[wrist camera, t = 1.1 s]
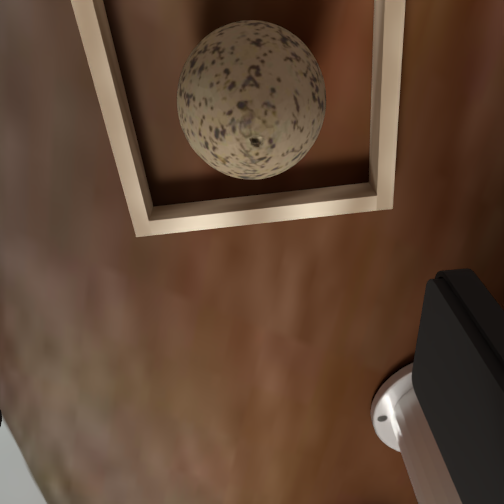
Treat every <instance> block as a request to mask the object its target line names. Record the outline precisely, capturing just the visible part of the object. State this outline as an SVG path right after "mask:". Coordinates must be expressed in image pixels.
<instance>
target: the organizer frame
mask: <svg viewBox="0 0 504 504" xmlns="http://www.w3.org/2000/svg"><path fill="white" fill-rule="evenodd" d="M71 2H72V6H73V9H74V13H75V17H76V20H77V24H78V27H79V31H80V35H81V38H82V42H83V45H84V49H85V53H86V56H87V60H88V64H89V67H90V71H91V74H92V78H93V82H94V85H95V89H96V92H97V96H98V100H99V103H100V107H101V111H102V114H103V118H104V121H105V125H106V129H107V132H108V136H109V139H110V143H111V147H112V150H113V154H114V158H115V161H116V165H117V168H118V172H119V176H120V179H121V183H122V186H123V190H124V194H125V197H126V201H127V205H128V208H129V212H130V215H131V219H132V223H133V226H134V230H135V233H136V237H141V236H150V235H159V234H168V233H177V232H186V231H195V230H204V229H213V228H222V227H231V226H240V225H249V224H258V223H267V222H276V221H285V220H294V219H304V218H313V217H322V216H331V215H340V214H349V213H358V212H367V211H376V210H385V209H393V194H394V178H395V162H396V146H397V130H398V113H399V97H400V81H401V65H402V49H403V33H404V16H405V0H374V27H373V60H372V93H371V126H370V159H369V182H368V183H360V184H351V185H342V186H333V187H324V188H315V189H306V190H297V191H288V192H279V193H270V194H261V195H252V196H243V197H235V198H226V199H217V200H208V201H199V202H190V203H181V204H172V205H163V206H154V207H153V203H152V199H151V195H150V191H149V187H148V182H147V178H146V174H145V170H144V166H143V162H142V158H141V154H140V150H139V146H138V142H137V137H136V133H135V129H134V125H133V121H132V117H131V113H130V109H129V105H128V101H127V97H126V92H125V88H124V84H123V80H122V76H121V72H120V68H119V64H118V60H117V56H116V52H115V47H114V43H113V39H112V35H111V31H110V27H109V23H108V19H107V15H106V11H105V6H104V2H103V0H71Z"/></svg>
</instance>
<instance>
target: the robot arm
mask: <svg viewBox="0 0 504 504" xmlns="http://www.w3.org/2000/svg"><path fill="white" fill-rule="evenodd" d="M371 418H372V423H373V426H374V429H375V431H376V434H377V435H378V437H379V438H380V439H381V440H382V441H383V442H384V443H385V444H386V445H388V446H389V447H391V448H393V449H395V450H397V451H400V452H401V454H402V457H403V460H404V463H405V466H406V468H407V471H408V474H409V477H410V480H411V483H412V486H413V489H414V492H415V495H416V498H417V501H418V503H419V504H504V311H503V309H502V308H501V307H500V305H499V304H498V303H497V302H496V300H495V299H494V298H493V296H492V295H491V294H490V292H489V291H488V290H487V288H486V287H485V286H484V285H483V283H482V282H481V281H480V279H479V278H478V277H477V275H476V274H475V273H474V272H473V271H472V270H471V269H456V270H445V271H439V272H438V273H437V274H436V276H435V279H430V280H428V282H427V285H426V290H425V296H424V302H423V308H422V314H421V320H420V326H419V332H418V338H417V344H416V350H415V356H414V362H413V363H411V364H409V365H407V366H405V367H404V368H402V369H400V370H399V371H398V372H396V373H395V374H393V375H392V376H391V377H390V378H389V379H388V380H387V381H386V382H385V383H384V384H383V385H382V386H381V387H380V389H379V390H378V392H377V393H376V395H375V397H374V399H373V402H372V405H371ZM1 422H2V414H1V410H0V426H1Z"/></svg>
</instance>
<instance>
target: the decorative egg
mask: <svg viewBox="0 0 504 504" xmlns="http://www.w3.org/2000/svg"><path fill="white" fill-rule="evenodd" d="M177 108H178V115H179V121H180V124H181V127H182V130H183V132H184V134H185V136H186V138H187V140H188V142H189V144H190V145H191V147H192V148H193V149H194V151H195V152H196V153H197V154H198V155H199V156H200V157H201V158H202V159H203V160H204V161H205V162H206V163H207V164H209V165H210V166H211V167H213V168H214V169H216V170H218V171H219V172H222V173H224V174H226V175H229V176H232V177H235V178H240V179H253V180H255V179H264V178H269V177H272V176H275V175H278V174H280V173H282V172H284V171H286V170H288V169H289V168H291V167H292V166H294V165H295V164H296V163H297V162H299V161H300V160H301V159H302V158H303V157H304V156H305V155H306V154H307V152H308V151H309V150H310V148H311V147H312V145H313V144H314V142H315V140H316V139H317V137H318V134H319V132H320V129H321V127H322V124H323V120H324V115H325V109H326V90H325V84H324V80H323V76H322V73H321V70H320V68H319V65H318V63H317V61H316V59H315V58H314V56H313V54H312V53H311V52H310V50H309V49H308V47H307V46H306V45H305V44H304V43H303V42H302V41H301V40H300V39H299V38H298V37H297V36H295V35H294V34H292V33H291V32H289V31H288V30H287V29H285V28H283V27H281V26H278V25H275V24H273V23H269V22H265V21H258V20H244V21H238V22H234V23H230V24H227V25H225V26H222V27H220V28H218V29H216V30H214V31H213V32H211V33H210V34H209V35H207V36H206V37H205V38H204V39H203V40H202V41H201V42H200V43H199V44H198V45H197V46H196V47H195V48H194V50H193V51H192V52H191V54H190V56H189V57H188V59H187V61H186V63H185V65H184V67H183V69H182V72H181V75H180V79H179V83H178V91H177Z"/></svg>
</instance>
